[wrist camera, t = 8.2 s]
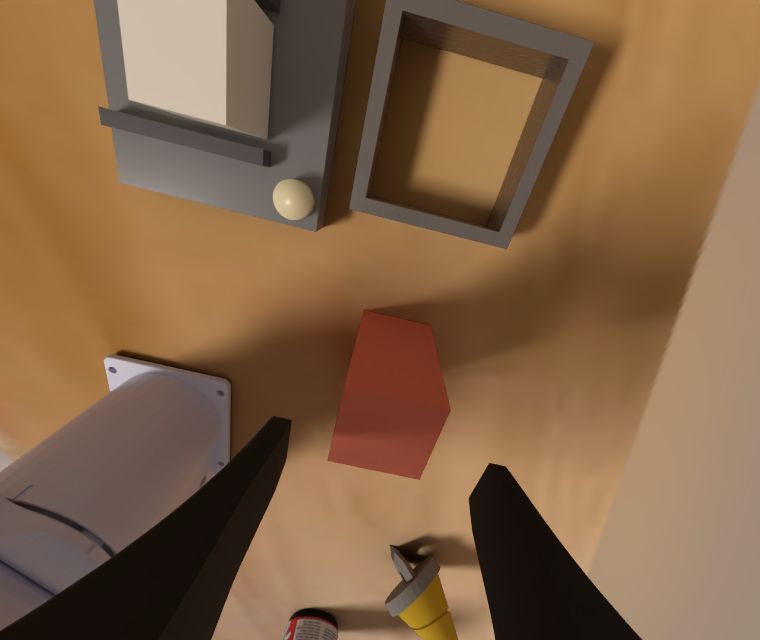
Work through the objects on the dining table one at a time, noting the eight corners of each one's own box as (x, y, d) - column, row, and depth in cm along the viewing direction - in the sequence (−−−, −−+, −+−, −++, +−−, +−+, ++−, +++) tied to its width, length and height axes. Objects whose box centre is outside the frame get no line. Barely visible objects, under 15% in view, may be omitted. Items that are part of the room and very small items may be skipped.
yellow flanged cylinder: (416, 521, 26) (506, 658, 21) (408, 526, 30) (481, 642, 25) (367, 567, 23) (454, 733, 19) (364, 566, 28) (436, 702, 23)
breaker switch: (267, 139, 12) (226, 125, 9) (194, 120, 12) (128, 99, 9) (273, 25, 10) (226, -36, 8) (189, 1, 10) (108, -71, 7)
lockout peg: (411, 379, 19) (419, 479, 12) (351, 365, 18) (327, 460, 12) (430, 325, 17) (450, 410, 11) (363, 309, 17) (344, 386, 10)
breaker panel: (323, 227, 15) (311, 234, 13) (145, 182, 14) (103, 182, 12) (362, -49, 11) (354, -105, 9) (113, -124, 10) (40, -204, 8)
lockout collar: (493, 241, 15) (506, 249, 13) (355, 205, 14) (349, 208, 13) (564, 64, 12) (594, 42, 10) (390, 13, 11) (389, -20, 9)
